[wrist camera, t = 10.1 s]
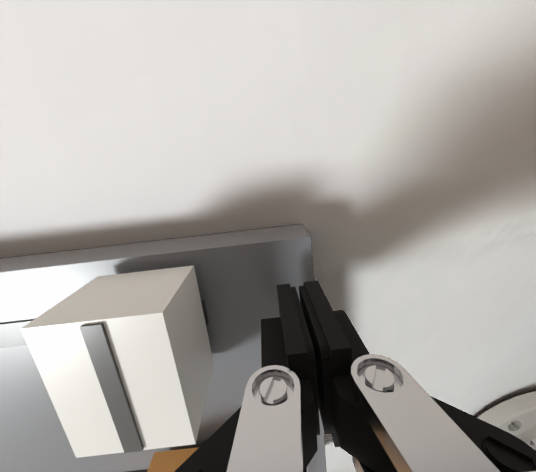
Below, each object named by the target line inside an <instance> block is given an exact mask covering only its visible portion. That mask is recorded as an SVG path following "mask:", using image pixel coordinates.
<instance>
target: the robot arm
mask: <svg viewBox="0 0 536 472" xmlns="http://www.w3.org/2000/svg"><path fill="white" fill-rule="evenodd" d="M277 295H278V305H279V315H280V317H276V318H267V319H261V365H262V368H261V369H259V370H258V371H256V372H255V373H254V374H253V375H252V376H251V377H250V378H249V380H248V383H247V385H246V389H245V394H244V398H243V402H242V406H241V407H240V408H239V409H238V410H237V411H236V412H235V413H234V414H233V415H232V416H231V417H230V418H229V419H228V420H227V421H226V422H225V423H224V424H223V425H222V426H221V427H220V428H219V429H217V430H216V431H215V432H214V433H213V434H212V435H211V436H210V437H209V438H208V439H207V440H206V441H205V442H204V443H203V444H202V445H201V446H200V447H199V448H198V449H197V450H196V451H195V452H194V453H193V454H192V455H191V456H190V457H189V458H188V459H187V460H186V461H185V462H184V463H183V464H181V465H180V466H179V467H178V468H177V469H176V470H175V471H174V472H308V470H307V466H308V464H309V463H310V461H311V460H312V458H313V457H314V455H315V453H316V452H317V450H318V446H317V435H320V422H319V412H320V416H321V420H322V424H323V428H324V431H325V434H332V438H333V441H334V445H335V447H341V448H342V449H344V450H345V451H346V452H348V453H349V454H350V455H352V456H353V463H354V466H355V469H356V471H357V472H536V391H533V392H529V393H525V394H521V395H518V396H515V397H513V398H510V399H508V400H505V401H503V402H501V403H499V404H497V405H495V406H494V407H492V408H490V409H488V410H486V411H485V412H483V413H482V414H481V415H479V416H478V417H477V418H476V417H474V416H472V415H470V414H468V413H466V412H463V411H461V410H459V409H457V408H455V407H453V406H451V405H448V404H446V403H444V402H442V401H440V400H438V399H436V398H433V397H431V396H429V394H428V393H427V392H426V391H425V390H424V389H423V388H422V387H421V386H420V385H419V384H418V383H417V382H416V380H415V379H414V378H413V377H412V376H411V375H410V374H409V373H408V372H407V371H406V370H405V369H404V368H403V367H402V366H401V365H400V364H399V363H397V362H396V361H394V360H392V359H390V358H388V357H385V356H382V355H375V354H369V352H368V350H367V349H366V347H365V345H364V344H363V342H362V340H361V338H360V337H359V335H358V333H357V332H356V330H355V328H354V327H353V325H352V323H351V322H350V320H349V318H348V316H347V315H346V313H345V312H344V311H343V310H339V311H333V310H332V308H331V306H330V304H329V302H328V300H327V298H326V296H325V295H324V293H323V291H322V289H321V287H320V285H319V283H318V281H308V282H304V284H303V286H299V295H300V301H299V297H298V294H297V291H296V287H290V284H281V285H277Z"/></svg>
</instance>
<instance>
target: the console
mask: <svg viewBox="0 0 536 472" xmlns="http://www.w3.org/2000/svg"><path fill="white" fill-rule="evenodd" d="M193 265H194V269H195V273H196V278H197V283H198V288H199V293H200V298H201V303H202V308H203V313H204V318H205V323H206V328H207V333H208V338H209V343H210V348H211V353H212V358H213V362H214V367H213V371H212V375H211V380H210V384H209V388H208V393H207V397H206V401H205V405H204V410H203V414H202V418H201V423H200V427H199V431H198V436H197V440H196V444H193V445H184V446H175V447H167V448H158V449H149V450H143V451H139V452H130V453H124V452H123V453H114V454H106V455H97V456H88V457H79V458H76V456H75V454H74V452H73V449H72V447H71V445H70V443H69V440H68V438H67V436H66V433H65V431H64V429H63V426H62V424H61V422H60V419H59V417H58V415H57V412H56V410H55V408H54V405H53V403H52V401H51V398H50V396H49V394H48V392H47V389H46V387H45V385H44V382H43V380H42V378H41V375H40V373H39V371H38V368H37V366H36V364H35V361H34V359H33V357H32V354H31V352H30V350H29V348H28V345H27V343H26V341H25V338H24V336H23V334H22V331H21V328H22V327H24V326H25V325H27V324H28V323H30V322H31V321H33V320H34V319H36V318H37V317H39V316H40V315H42V314H43V313H44V312H46V311H47V310H49V309H50V308H52V307H53V306H55V305H56V304H58V303H59V302H61V301H62V300H64V299H65V298H67V297H68V296H70V295H71V294H72V293H74V292H75V291H77V290H78V289H80V288H81V287H83V286H84V285H86V284H87V283H89V282H90V281H92V280H93V279H95V278H96V277H98V276H105V275H114V274H123V273H132V272H141V271H149V270H158V269H167V268H176V267H184V266H193ZM308 281H314V277H313V262H312V247H311V236H310V235H309V234H308V232H307V231H306V230H305V228H304V227H303V225H302V224H298V225H289V226H280V227H271V228H263V229H254V230H245V231H236V232H227V233H219V234H210V235H201V236H192V237H184V238H175V239H166V240H157V241H149V242H140V243H131V244H122V245H113V246H105V247H96V248H87V249H78V250H70V251H61V252H52V253H43V254H34V255H26V256H17V257H8V258H0V472H147V471H148V468H149V466H150V463H151V460H152V458H153V455H154V452H162V451H171V450H180V449H188V448H197V447H200V446H201V445H202V444H203V443H204V442H205V441H206V440H207V439H208V438H209V437H210V436H211V435H212V434H213V433H214V432H215V431H216V430H217V429H219V428H220V427H221V426H222V425H223V424H224V423H225V422H226V421H227V420H228V419H229V418H230V417H231V416H232V415H233V414H234V413H235V412H236V411H237V410H238V409H239V408H240V407H241V406H242V402H243V398H244V394H245V389H246V385H247V383H248V380H249V378H250V377H251V376H252V375H253V374H254V373H255V372H256V371H258V370H259V369H261V368H262V365H261V319H267V318H276V317H280V315H279V305H278V295H277V285H281V284H290V287H296V291H297V294H298V297H299V301H300V295H299V286H303V284H304V282H308ZM319 422H320V435H317V446H318V450H317V452H316V453H315V455H314V457H313V458H312V460H311V461H310V463H309V464H308V466H307V470H308V472H326V458H325V443H324V428H323V424H322V420H321V416H320V412H319Z"/></svg>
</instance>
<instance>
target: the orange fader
mask: <svg viewBox="0 0 536 472" xmlns="http://www.w3.org/2000/svg"><path fill="white" fill-rule="evenodd" d="M198 448H199V447H197V448H188V449H180V450H171V451H162V452H154V455H153V458H152V460H151V463H150V466H149V468H148V471H147V472H174V471H175V470H176V469H177V468H178V467H179V466H180V465H181V464H183V463H184V462H185V461H186V460H187V459H188V458H189V457H190V456H191V455H192V454H193V453H194V452H195V451H196V450H197V449H198Z"/></svg>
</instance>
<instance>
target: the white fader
mask: <svg viewBox="0 0 536 472" xmlns="http://www.w3.org/2000/svg"><path fill="white" fill-rule="evenodd" d="M21 331H22V334H23V336H24V338H25V341H26V343H27V345H28V348H29V350H30V352H31V354H32V357H33V359H34V361H35V364H36V366H37V368H38V371H39V373H40V375H41V378H42V380H43V382H44V385H45V387H46V389H47V392H48V394H49V396H50V398H51V401H52V403H53V405H54V408H55V410H56V412H57V415H58V417H59V419H60V422H61V424H62V426H63V429H64V431H65V433H66V436H67V438H68V440H69V443H70V445H71V447H72V449H73V452H74V454H75V456H76V458H79V457H88V456H97V455H106V454H114V453H123V452H124V453H130V452H139V451H143V450H149V449H158V448H167V447H175V446H184V445H193V444H196V440H197V436H198V431H199V427H200V423H201V418H202V414H203V410H204V405H205V401H206V397H207V393H208V388H209V384H210V380H211V375H212V371H213V367H214V362H213V358H212V353H211V348H210V343H209V338H208V333H207V328H206V323H205V318H204V313H203V308H202V303H201V298H200V293H199V288H198V283H197V278H196V273H195V269H194V265H193V266H184V267H176V268H167V269H158V270H149V271H141V272H132V273H123V274H114V275H105V276H98V277H96V278H95V279H93V280H92V281H90V282H89V283H87V284H86V285H84V286H83V287H81V288H80V289H78V290H77V291H75V292H74V293H72V294H71V295H70V296H68V297H67V298H65V299H64V300H62V301H61V302H59V303H58V304H56V305H55V306H53V307H52V308H50V309H49V310H47V311H46V312H44V313H43V314H42V315H40V316H39V317H37V318H36V319H34V320H33V321H31V322H30V323H28V324H27V325H25V326H24V327H22V328H21Z"/></svg>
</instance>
